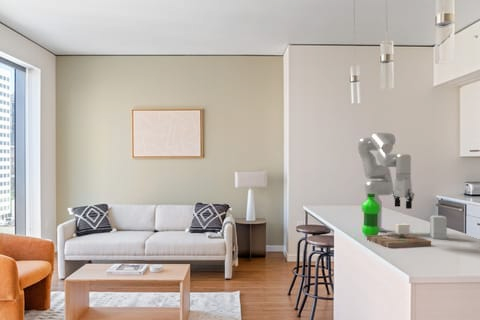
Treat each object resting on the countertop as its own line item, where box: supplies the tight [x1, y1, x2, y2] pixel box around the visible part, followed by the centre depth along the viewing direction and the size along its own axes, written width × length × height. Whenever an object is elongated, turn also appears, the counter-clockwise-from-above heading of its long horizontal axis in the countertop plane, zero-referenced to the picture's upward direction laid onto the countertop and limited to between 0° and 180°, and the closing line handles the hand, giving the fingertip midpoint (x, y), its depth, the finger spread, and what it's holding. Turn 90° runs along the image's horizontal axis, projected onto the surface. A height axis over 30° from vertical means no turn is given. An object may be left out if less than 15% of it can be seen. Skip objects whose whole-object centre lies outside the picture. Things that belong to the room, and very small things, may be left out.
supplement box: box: [429, 215, 448, 240], centre depth 239 cm, size 7×7×13 cm
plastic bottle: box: [361, 193, 380, 237], centre depth 241 cm, size 10×10×25 cm
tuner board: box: [366, 233, 432, 249], centre depth 225 cm, size 20×26×3 cm
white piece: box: [386, 223, 410, 237], centre depth 227 cm, size 3×13×7 cm, turn 105°
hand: (402, 207), depth 227 cm, fingers open, 9 cm apart
